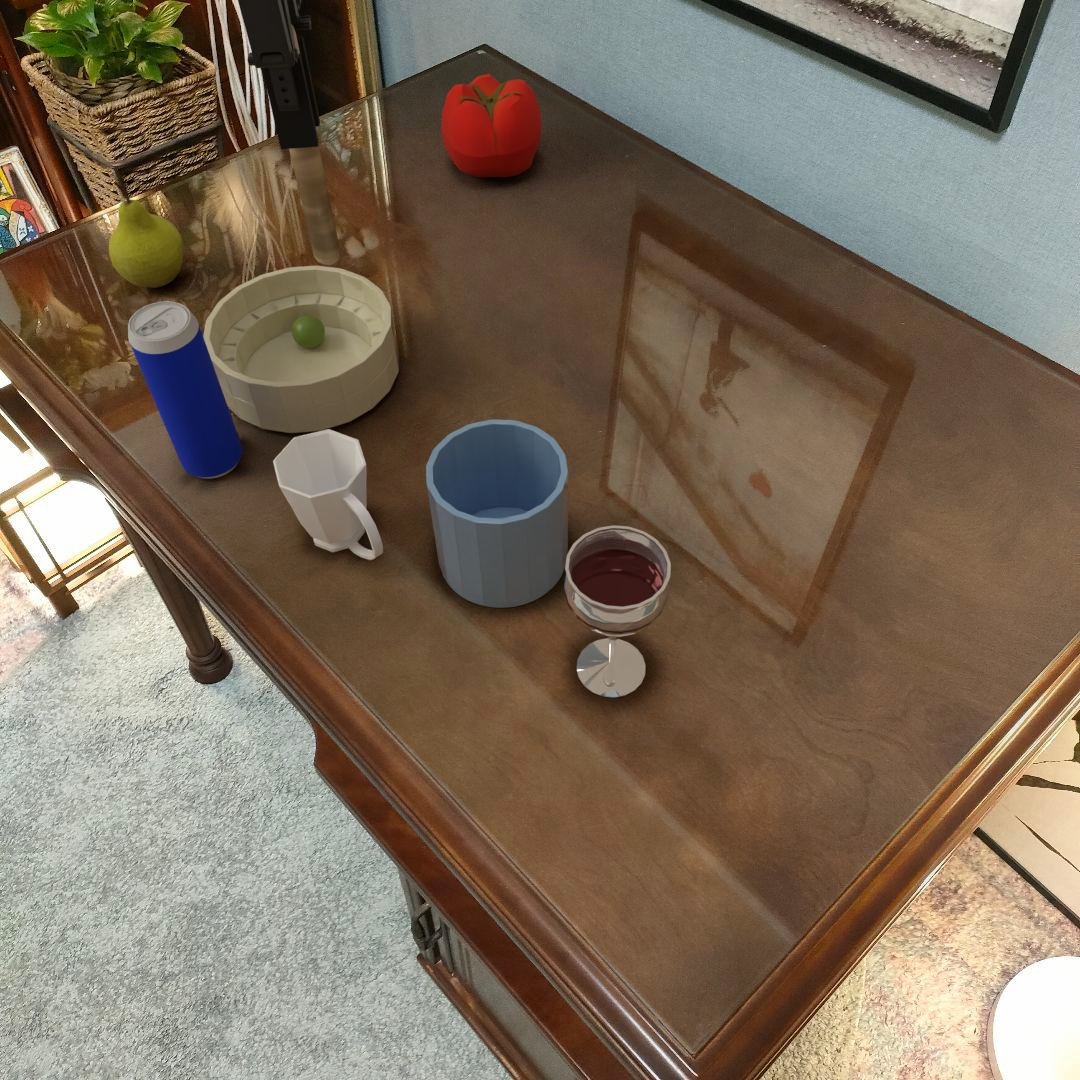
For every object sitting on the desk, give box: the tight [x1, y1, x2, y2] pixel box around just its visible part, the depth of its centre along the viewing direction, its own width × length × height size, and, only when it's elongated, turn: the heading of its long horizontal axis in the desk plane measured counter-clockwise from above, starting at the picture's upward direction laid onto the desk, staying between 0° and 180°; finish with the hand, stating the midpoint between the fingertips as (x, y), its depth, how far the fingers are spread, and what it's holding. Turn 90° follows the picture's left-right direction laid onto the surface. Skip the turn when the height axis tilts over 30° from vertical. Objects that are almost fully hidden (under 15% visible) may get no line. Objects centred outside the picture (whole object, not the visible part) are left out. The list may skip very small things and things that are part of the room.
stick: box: [288, 24, 341, 266], centre depth 77 cm, size 2×2×20 cm
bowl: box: [202, 265, 400, 434], centre depth 91 cm, size 16×16×6 cm
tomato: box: [441, 73, 543, 178], centre depth 112 cm, size 11×12×9 cm
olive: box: [292, 315, 325, 348], centre depth 94 cm, size 3×3×3 cm
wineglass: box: [563, 525, 672, 698], centre depth 69 cm, size 7×7×12 cm
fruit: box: [108, 181, 185, 289], centre depth 98 cm, size 7×7×12 cm
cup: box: [272, 428, 384, 561], centre depth 78 cm, size 7×10×8 cm
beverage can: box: [127, 300, 243, 480], centre depth 81 cm, size 5×5×15 cm
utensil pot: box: [425, 418, 569, 609], centre depth 76 cm, size 10×10×10 cm
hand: (300, 134), depth 76 cm, fingers closed on stick, 2 cm apart
